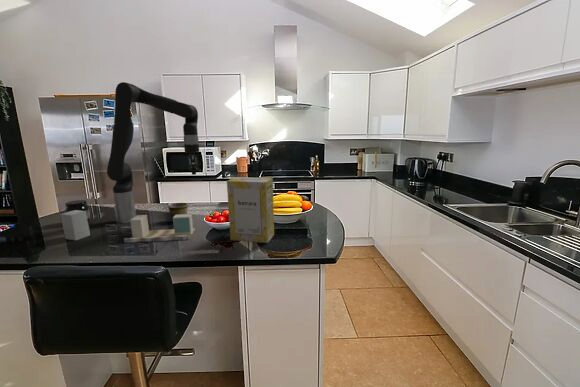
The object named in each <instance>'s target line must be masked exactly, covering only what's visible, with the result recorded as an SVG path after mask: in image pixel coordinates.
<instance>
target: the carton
mask: <svg viewBox="0 0 580 387" xmlns="http://www.w3.org/2000/svg"><path fill="white" fill-rule="evenodd" d="M129 223H130V230H131V236H133V238H143V237H145V236H146V235H147V234H148V233H149V230H150V228H149V227H150V226H149V221H148V215H147V214H136V216H135V217H134V218H133V219H131V220H130V222H129Z"/></svg>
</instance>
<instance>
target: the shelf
mask: <svg viewBox="0 0 580 387" xmlns="http://www.w3.org/2000/svg"><path fill="white" fill-rule="evenodd" d="M196 229H197V228H196V227H193V233H194V232H195V230H196ZM193 233H192V234H191V235H178V236H175V232H174V228H171V229H169V228H168V229H152V230H151V229H149V233H148V234H147V235H146V236H145V237H143V238H133V235H131V236H130V237H129V238H128V237H126V238H123V240H124V241H123V242H124V243H125V244H126V243H128V244H129V243H144V242H146V243H148V242H165V241H166V242H167V241H183V240H185V241H186V240H187V241H188V240H190V238H191V237H192V235H193Z"/></svg>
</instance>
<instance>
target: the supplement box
mask: <svg viewBox="0 0 580 387" xmlns="http://www.w3.org/2000/svg"><path fill="white" fill-rule="evenodd" d="M59 216H60V219H61V223H62V224H61V225H62V228H63V233H64V238H65V240H70V241H78V240H81V239H83V238H86V237H89V236H90V235H91V232H90V226H89V222H88V221H87V216H86V211H79V210H74V211H70V212H67V213H66V212H63V213H60V215H59Z"/></svg>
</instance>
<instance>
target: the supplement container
mask: <svg viewBox="0 0 580 387" xmlns="http://www.w3.org/2000/svg"><path fill="white" fill-rule="evenodd" d="M74 210H79V211H86V216H87V221H88V223H89V222H91V220H92V218H91V215H90V214H91V213H90V206H89V205H88V203H87V200H86V199H76V200H72V201H67V202H65V213H67V212H70V211H74Z"/></svg>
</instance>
